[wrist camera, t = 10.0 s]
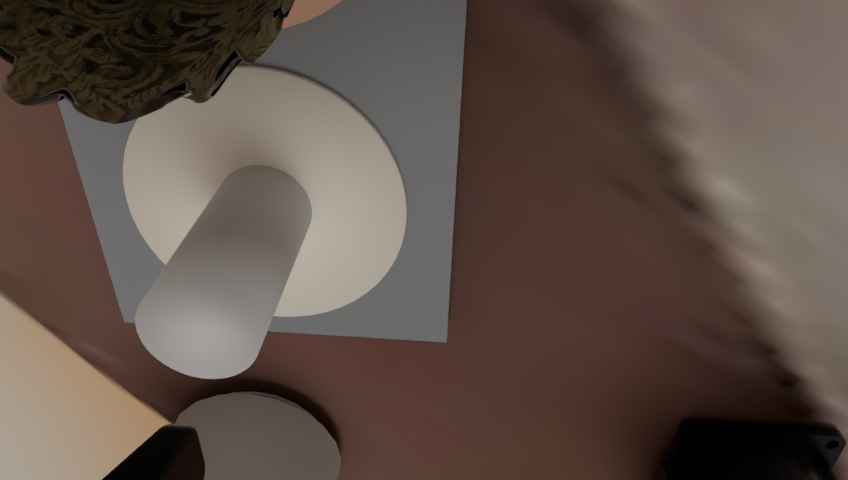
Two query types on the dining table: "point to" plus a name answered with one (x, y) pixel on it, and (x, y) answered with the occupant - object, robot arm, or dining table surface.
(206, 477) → the can
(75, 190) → the dining table surface
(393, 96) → the board
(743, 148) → the dining table surface
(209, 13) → the decorative vase
